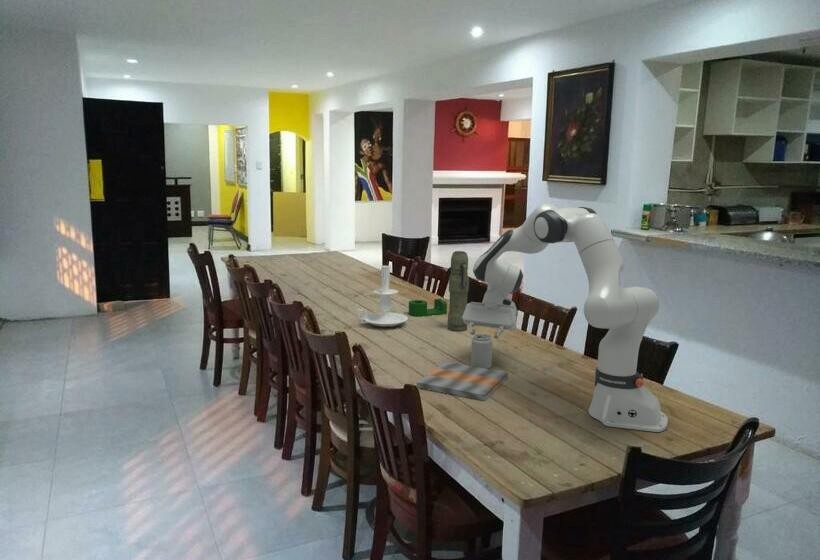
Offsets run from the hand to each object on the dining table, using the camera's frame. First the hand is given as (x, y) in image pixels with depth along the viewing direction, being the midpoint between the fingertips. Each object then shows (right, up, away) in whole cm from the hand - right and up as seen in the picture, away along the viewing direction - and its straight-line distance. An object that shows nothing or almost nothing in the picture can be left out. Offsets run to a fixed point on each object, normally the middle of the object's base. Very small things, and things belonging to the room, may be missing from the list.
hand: (484, 335), depth 227 cm
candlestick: (-40, 0, +56) cm, 69 cm away
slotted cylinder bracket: (-19, +4, +77) cm, 80 cm away
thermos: (-6, -2, +51) cm, 52 cm away
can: (-1, -12, +1) cm, 12 cm away
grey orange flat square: (-9, -15, -15) cm, 23 cm away
